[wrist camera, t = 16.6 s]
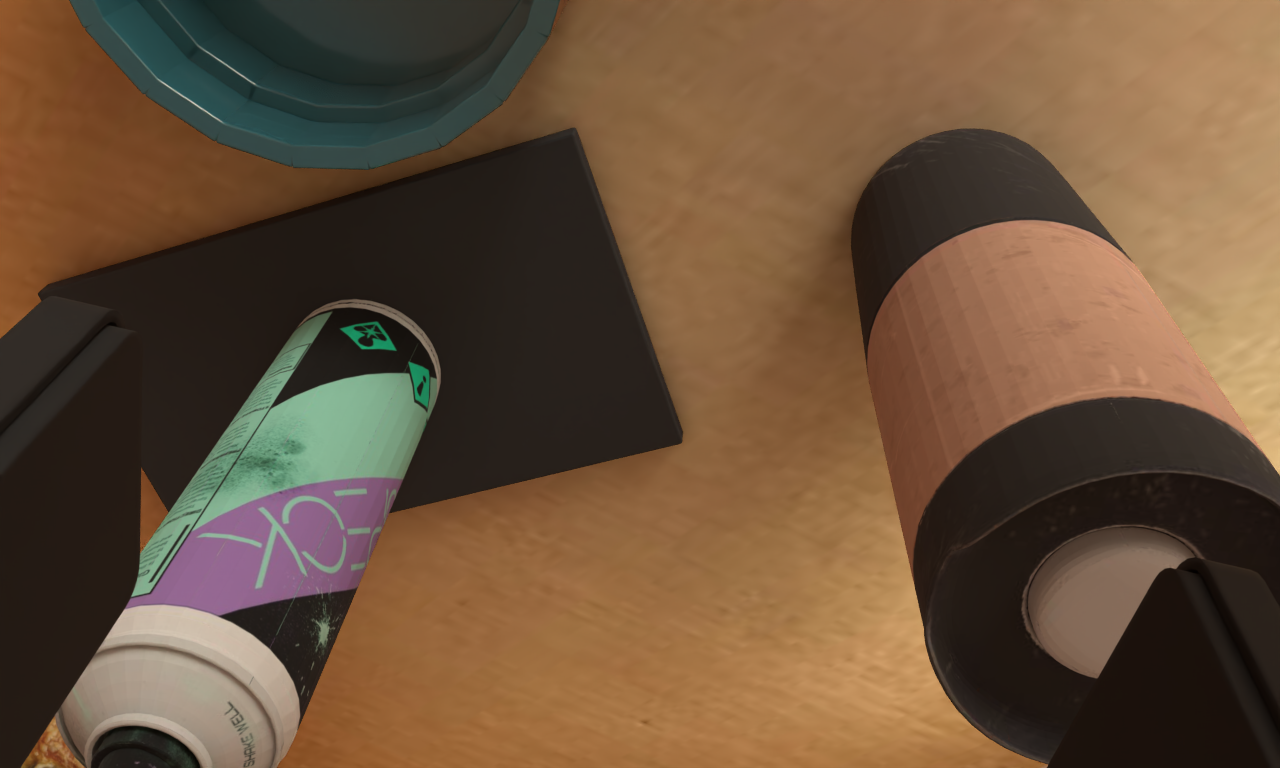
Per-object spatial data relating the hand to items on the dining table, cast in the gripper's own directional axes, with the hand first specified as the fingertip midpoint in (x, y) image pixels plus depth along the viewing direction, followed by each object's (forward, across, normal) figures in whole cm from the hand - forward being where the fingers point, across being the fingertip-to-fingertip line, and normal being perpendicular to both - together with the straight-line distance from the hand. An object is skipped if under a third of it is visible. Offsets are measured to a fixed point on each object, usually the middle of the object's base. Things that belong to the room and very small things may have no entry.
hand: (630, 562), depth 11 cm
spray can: (+28, +8, +17) cm, 34 cm away
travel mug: (+30, -10, +7) cm, 32 cm away
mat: (+29, +8, +17) cm, 35 cm away
